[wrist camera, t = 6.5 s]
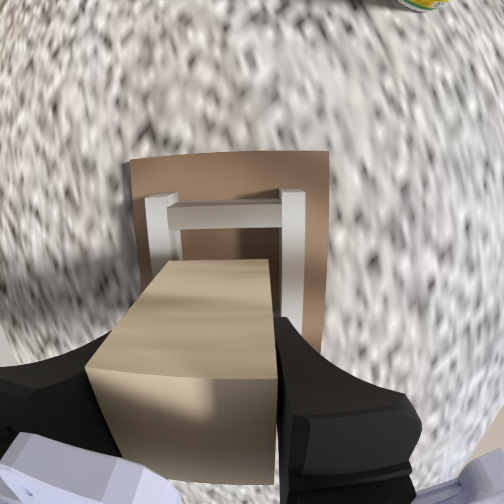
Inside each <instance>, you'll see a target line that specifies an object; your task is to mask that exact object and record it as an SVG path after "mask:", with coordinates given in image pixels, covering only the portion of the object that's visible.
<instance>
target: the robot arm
mask: <svg viewBox="0 0 504 504" xmlns="http://www.w3.org/2000/svg"><path fill="white" fill-rule="evenodd" d="M273 324H274V337H275V350H276V363H277V377H278V383H277V417H276V424H277V432H278V450H279V483H280V504H504V451H503V450H502V448H499V449H496V450H494V451H492V452H490V453H487V454H485V455H483V456H480V457H478V458H476V459H474V460H472V461H471V462H469V463H468V464H467V465H466V466H465V467H464V468H463V470H462V471H461V473H460V474H459V476H458V478H455V479H452V480H449V481H447V482H444V483H441V484H438V485H435V486H432V487H429V488H426V489H422V490H419V491H416V492H415V489H414V486H413V484H412V481H411V478H410V476H409V474H411V472H412V467H411V465H410V462H409V458H410V456H411V454H412V452H413V450H414V448H415V446H416V444H417V442H418V440H419V438H420V435H421V432H422V423H421V420H420V418H419V416H418V414H417V412H416V410H415V409H414V407H413V405H412V404H411V402H410V401H409V399H408V398H407V396H406V395H405V394H403V393H400V392H396V391H392V390H389V389H385V388H381V387H378V386H376V385H373V384H370V383H368V382H365V381H363V380H361V379H359V378H356V377H354V376H352V375H351V374H349V373H347V372H345V371H343V370H342V369H340V368H338V367H337V366H335V365H334V364H332V363H331V362H329V361H328V360H327V359H325V358H324V357H323V356H321V355H320V354H319V353H318V352H317V351H316V350H315V349H314V348H313V347H312V346H311V345H310V344H309V343H308V342H307V341H306V340H305V339H304V338H303V337H302V336H301V335H300V333H299V332H298V331H297V330H296V329H295V327H294V326H293V325H292V323H291V322H290V320H289V319H288V318H287V317H273ZM111 332H112V331H110V332H108V333H107V334H105V335H103V336H101V337H99V338H97V339H96V340H94V341H92V342H90V343H88V344H86V345H84V346H82V347H80V348H77V349H75V350H73V351H70V352H68V353H65V354H62V355H59V356H56V357H53V358H49V359H46V360H43V361H39V362H34V363H30V364H24V365H18V366H9V367H0V504H183V502H182V499H181V497H180V495H179V493H178V491H177V490H176V489H175V488H174V487H173V486H172V485H171V484H170V483H169V482H168V480H167V479H166V478H165V477H164V476H162V475H160V474H158V473H157V472H155V471H153V470H151V469H149V468H148V467H146V466H144V465H141V464H138V463H135V462H132V461H129V460H126V459H124V458H123V456H122V454H121V452H120V450H119V448H118V446H117V444H116V442H115V440H114V438H113V436H112V434H111V431H110V429H109V427H108V425H107V423H106V420H105V418H104V416H103V413H102V411H101V409H100V406H99V404H98V401H97V399H96V396H95V394H94V391H93V389H92V386H91V383H90V381H89V378H88V375H87V372H86V369H85V366H86V364H87V363H88V362H89V360H90V359H91V358H92V356H93V355H94V354H95V352H96V351H97V350H98V348H99V347H100V346H101V344H102V343H103V342H104V341H105V339H106V338H107V337H108V335H109V334H110V333H111Z"/></svg>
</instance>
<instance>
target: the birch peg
mask: <svg viewBox="0 0 504 504" xmlns="http://www.w3.org/2000/svg"><path fill="white" fill-rule="evenodd" d="M85 369H86V372H87V375H88V378H89V381H90V383H91V386H92V389H93V391H94V394H95V396H96V399H97V401H98V404H99V406H100V409H101V411H102V413H103V416H104V418H105V420H106V423H107V425H108V427H109V429H110V431H111V434H112V436H113V438H114V440H115V442H116V444H117V446H118V448H119V450H120V452H121V454H122V456H123V458H124V459H126V460H129V461H132V462H135V463H138V464H141V465H144V466H146V467H148V468H149V469H151V470H153V471H155V472H157V473H158V474H160V475H162V476H164V477H165V478H166V479H172V480H180V481H189V482H199V483H212V484H231V485H274V468H275V445H276V417H277V383H278V377H277V363H276V350H275V337H274V324H273V312H272V299H271V287H270V275H269V263H268V259H251V260H188V261H168V263H167V264H166V265H165V266H164V267H163V269H162V270H161V271H160V272H159V273H158V274H157V276H156V277H155V278H154V279H153V281H152V282H151V283H150V284H149V285H148V287H147V288H146V289H145V290H144V291H143V293H142V294H141V295H140V296H139V298H138V299H137V300H136V301H135V303H134V304H133V305H132V306H131V307H130V309H129V310H128V311H127V312H126V314H125V315H124V316H123V318H122V319H121V320H120V321H119V323H118V324H117V325H116V326H115V328H114V329H113V330H112V332H111V333H110V334H109V335H108V337H107V338H106V339H105V341H104V342H103V343H102V344H101V346H100V347H99V348H98V350H97V351H96V352H95V354H94V355H93V356H92V358H91V359H90V360H89V362H88V363H87V364H86V366H85Z"/></svg>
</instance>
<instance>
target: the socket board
mask: <svg viewBox="0 0 504 504" xmlns="http://www.w3.org/2000/svg"><path fill="white" fill-rule="evenodd" d="M130 173H131V188H132V201H133V213H134V223H135V233H136V242H137V250H138V258H139V266H140V273H141V280H142V286H143V291H144V290H145V289H146V288H147V287H148V285H149V284H150V283H151V282H152V281H153V279H154V278H155V277H156V276H157V274H158V273H159V272H160V271H161V270H162V269H163V267H164V266H165V265H166V264H167V263H168V261H188V260H251V259H268V263H269V275H270V287H271V299H272V312H273V317H287V318H288V319H289V320H290V322H291V323H292V325H293V326H294V327H295V329H296V330H297V331H298V332H299V333H300V335H301V336H302V337H303V338H304V339H305V340H306V341H307V342H308V343H309V344H310V345H311V346H312V347H313V348H314V349H315V350H316V351H317V352H318V353H319V354H320V352H321V342H322V331H323V319H324V306H325V291H326V274H327V254H328V227H329V151H240V152H217V153H199V154H185V155H172V156H161V157H151V158H141V159H132V160H130Z"/></svg>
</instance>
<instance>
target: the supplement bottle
mask: <svg viewBox="0 0 504 504" xmlns="http://www.w3.org/2000/svg"><path fill="white" fill-rule="evenodd" d="M397 1H398V2H400V3H401V4H403V5H405V6H406V7H408V8H411V9H413V10H416V11H420V12H431V11H434V10H436V9H438V8H440V7H441V6H442V5H444V4H445V3H447V2H448V1H449V0H397Z"/></svg>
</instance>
